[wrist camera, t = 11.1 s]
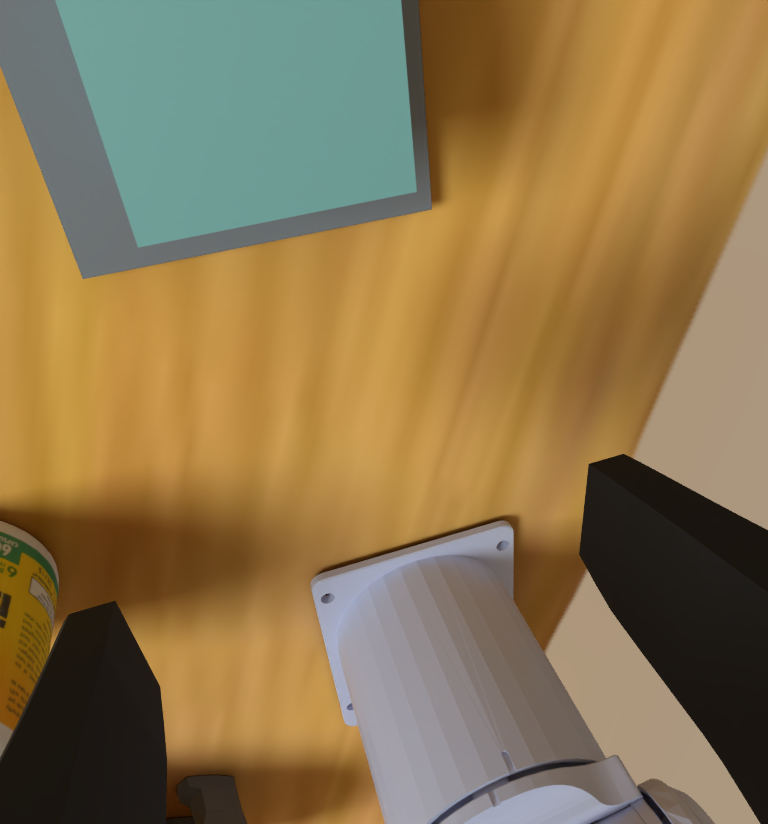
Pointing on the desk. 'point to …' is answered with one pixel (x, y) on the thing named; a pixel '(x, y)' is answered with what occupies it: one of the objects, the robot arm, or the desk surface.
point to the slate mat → (91, 171)
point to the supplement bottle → (23, 620)
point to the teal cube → (244, 107)
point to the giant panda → (209, 801)
